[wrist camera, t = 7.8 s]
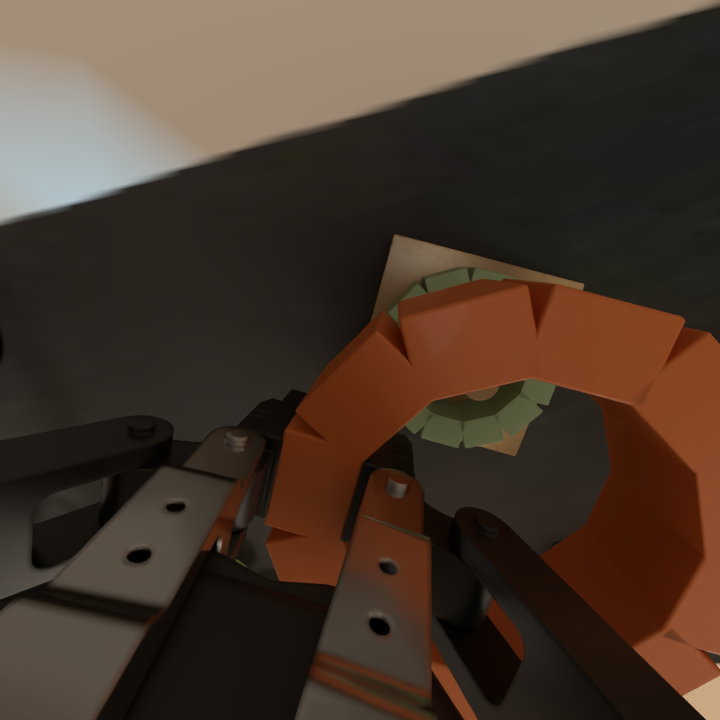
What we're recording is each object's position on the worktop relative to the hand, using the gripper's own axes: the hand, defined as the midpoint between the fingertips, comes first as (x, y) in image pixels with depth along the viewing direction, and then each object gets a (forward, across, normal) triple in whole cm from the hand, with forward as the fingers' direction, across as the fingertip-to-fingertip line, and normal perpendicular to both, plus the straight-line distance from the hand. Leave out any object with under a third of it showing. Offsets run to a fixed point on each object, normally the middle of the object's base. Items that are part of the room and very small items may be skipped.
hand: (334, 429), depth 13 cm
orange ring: (0, -5, 0) cm, 5 cm away
